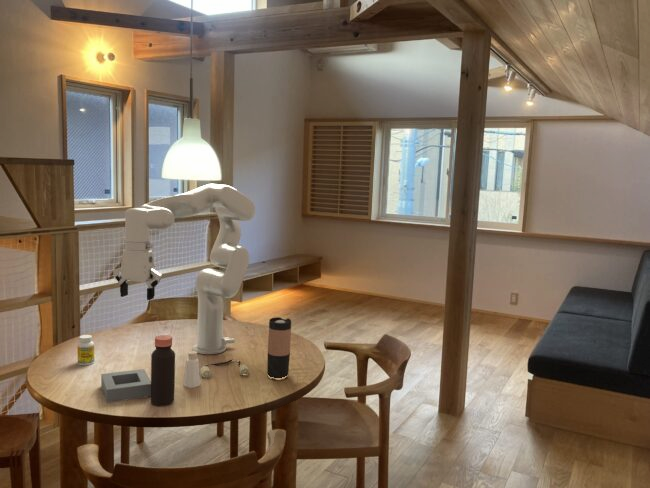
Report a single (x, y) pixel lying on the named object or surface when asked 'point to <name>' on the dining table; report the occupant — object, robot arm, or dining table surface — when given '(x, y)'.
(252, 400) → the dining table surface
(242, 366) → the cable
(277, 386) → the dining table surface
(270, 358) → the travel mug
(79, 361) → the supplement bottle
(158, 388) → the dark brown water bottle
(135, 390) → the frame
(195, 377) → the pepper shaker
